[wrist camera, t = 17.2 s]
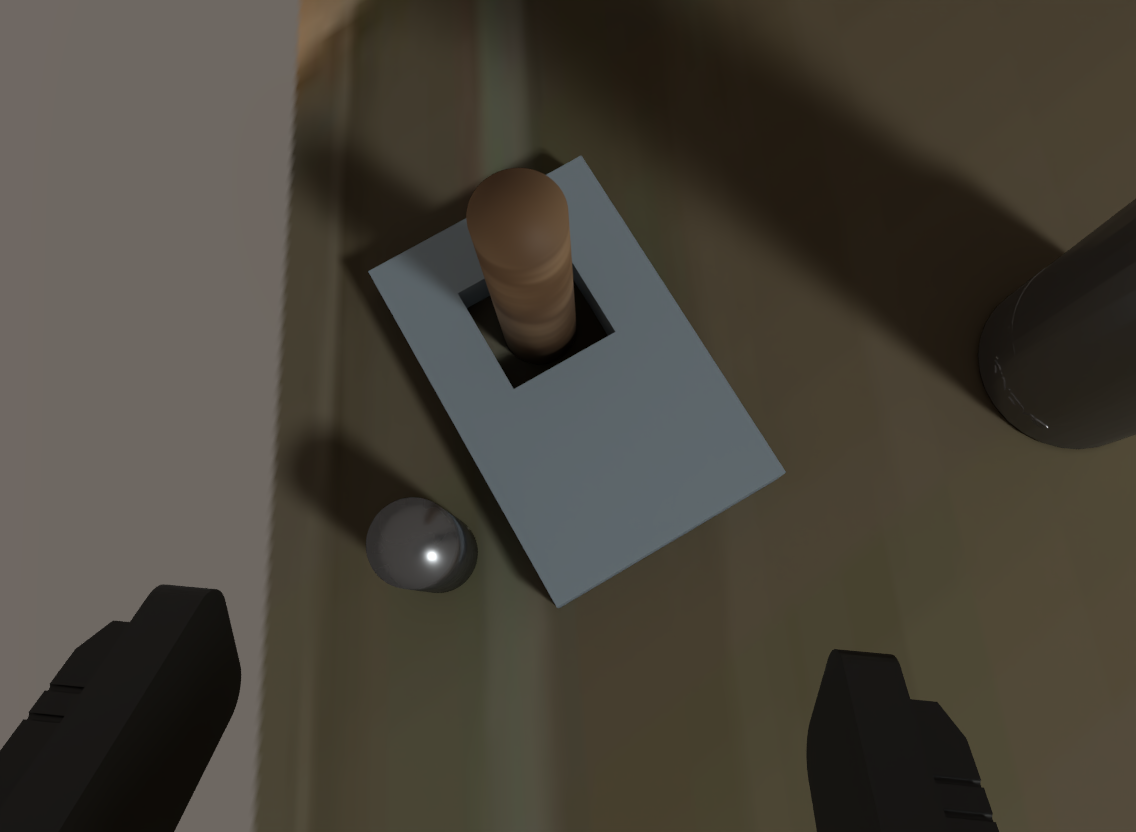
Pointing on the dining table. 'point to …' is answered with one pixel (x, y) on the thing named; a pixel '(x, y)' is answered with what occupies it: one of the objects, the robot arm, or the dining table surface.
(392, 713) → the dining table surface
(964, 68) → the dining table surface
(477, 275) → the hole board
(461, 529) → the short pin
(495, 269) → the long pin
